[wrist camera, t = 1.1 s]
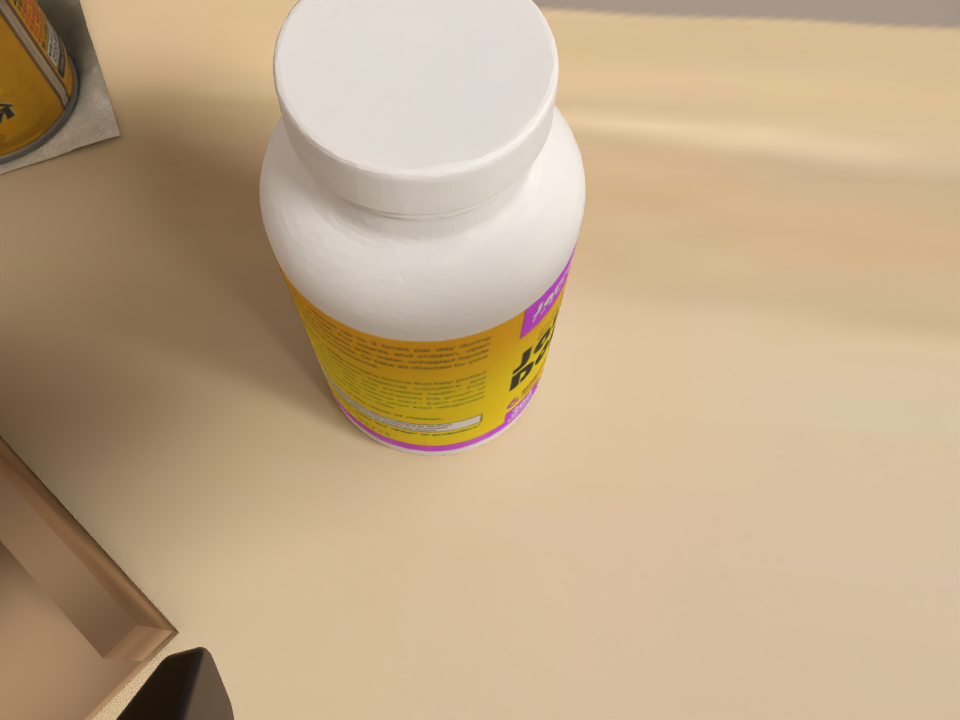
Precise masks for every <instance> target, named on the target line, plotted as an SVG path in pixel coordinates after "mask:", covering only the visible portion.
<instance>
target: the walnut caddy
mask: <svg viewBox="0 0 960 720" xmlns="http://www.w3.org/2000/svg"><path fill="white" fill-rule="evenodd" d="M178 633H179V632H178V631H177V630H176V629H175V628H174V627H173V626H172V624H171V623H170V622H169V621H168V620H167V619H166V618H165V617H164V616H163V615H162V613H161V612H160V611H159V610H158V609H157V608H156V607H155V606H154V605H153V604H152V602H151V601H150V600H149V599H148V598H147V597H146V596H145V595H144V594H143V593H142V592H141V590H140V589H139V588H138V587H137V586H136V585H135V584H134V583H133V582H132V581H131V579H130V578H129V577H128V576H127V575H126V574H125V573H124V572H123V571H122V570H121V568H120V567H119V566H118V565H117V564H116V563H115V562H114V561H113V560H112V559H111V557H110V556H109V555H108V554H107V553H106V552H105V551H104V550H103V549H102V548H101V546H100V545H99V544H98V543H97V542H96V541H95V540H94V539H93V538H92V537H91V535H90V534H89V533H88V532H87V531H86V530H85V529H84V528H83V527H82V526H81V524H80V523H79V522H78V521H77V520H76V519H75V518H74V517H73V516H72V515H71V513H70V512H69V511H68V510H67V509H66V508H65V507H64V506H63V505H62V504H61V502H60V501H59V500H58V499H57V498H56V497H55V496H54V495H53V494H52V493H51V492H50V490H49V489H48V488H47V487H46V486H45V485H44V484H43V483H42V482H41V481H40V479H39V478H38V477H37V476H36V475H35V474H34V473H33V472H32V471H31V470H30V468H29V467H28V466H27V465H26V464H25V463H24V462H23V461H22V460H21V459H20V457H19V456H18V455H17V454H16V453H15V452H14V451H13V450H12V449H11V448H10V446H9V445H8V444H7V443H6V442H5V441H4V440H3V439H2V438H1V437H0V720H91V719H92V718H93V717H94V716H95V715H96V714H97V713H98V712H99V711H100V710H101V709H102V708H103V707H104V706H105V705H106V704H107V703H108V702H109V701H110V700H111V699H112V698H113V697H114V696H115V695H116V694H117V693H118V692H119V691H120V690H121V689H122V688H123V687H124V686H125V685H126V684H127V683H128V682H129V681H130V680H131V679H132V678H133V677H134V676H135V675H136V674H137V673H138V672H140V671H141V670H142V669H143V668H144V667H145V666H146V665H147V664H148V663H149V662H150V661H151V660H152V659H153V658H154V657H155V656H156V655H157V654H158V653H159V652H160V651H161V650H162V649H163V648H164V647H165V646H166V645H167V644H168V643H169V642H170V641H171V640H172V639H173V638H174V637H175V636H176V635H177V634H178Z"/></svg>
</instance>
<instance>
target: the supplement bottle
mask: <svg viewBox="0 0 960 720" xmlns="http://www.w3.org/2000/svg"><path fill="white" fill-rule="evenodd" d="M558 70H559V64H558V54H557V49H556V45H555V39H554V37H553V34H552V32H551V30H550V28H549V25H548V23H547V21H546V19H545V17H544V16H543V14H542V13H541V11H540V10H539V8H538V7H537V6H536V5H535V3H534V2H533V1H532V0H299V1H298V2H297V3H296V5H295V6H294V7H293V9H292V10H291V11H290V13H289V14H288V16H287V18H286V20H285V22H284V24H283V26H282V28H281V30H280V32H279V35H278V37H277V40H276V46H275V52H274V58H273V75H274V83H275V89H276V93H277V97H278V100H279V104H280V108H281V113H282V117H281V119H280V120H279V122H278V123H277V125H276V127H275V129H274V131H273V133H272V135H271V138H270V140H269V143H268V146H267V148H266V152H265V155H264V159H263V163H262V169H261V176H260V208H261V214H262V219H263V224H264V228H265V231H266V234H267V237H268V240H269V242H270V245H271V248H272V250H273V252H274V255H275V257H276V260H277V262H278V264H279V267H280V269H281V271H282V274H283V276H284V278H285V281H286V283H287V285H288V288H289V290H290V293H291V295H292V297H293V300H294V302H295V305H296V307H297V309H298V312H299V314H300V317H301V319H302V321H303V324H304V326H305V329H306V331H307V334H308V336H309V339H310V341H311V344H312V346H313V349H314V351H315V353H316V356H317V358H318V361H319V364H320V366H321V368H322V371H323V373H324V376H325V378H326V380H327V383H328V385H329V387H330V390H331V391H332V393H333V395H334V397H335V399H336V401H337V403H338V404H339V406H340V407H341V409H342V410H343V412H344V413H345V415H346V416H347V417H348V418H349V419H350V421H351V422H352V423H353V424H354V425H355V426H357V427H358V428H359V429H360V430H361V431H363V432H364V433H365V434H366V435H368V436H369V437H371V438H373V439H374V440H376V441H377V442H379V443H381V444H383V445H385V446H387V447H390V448H392V449H395V450H397V451H401V452H405V453H409V454H415V455H423V456H444V455H451V454H456V453H461V452H465V451H468V450H472V449H475V448H477V447H479V446H482V445H484V444H486V443H488V442H489V441H491V440H493V439H495V438H496V437H498V436H499V435H501V434H502V433H503V432H505V431H506V430H507V429H508V428H509V427H510V426H512V425H513V424H514V423H515V422H516V421H517V419H518V418H519V417H520V416H521V415H522V413H523V412H524V411H525V409H526V408H527V407H528V405H529V403H530V402H531V400H532V398H533V396H534V394H535V392H536V389H537V387H538V384H539V381H540V378H541V375H542V372H543V368H544V364H545V361H546V357H547V353H548V350H549V346H550V342H551V338H552V336H553V332H554V328H555V323H556V319H557V316H558V312H559V309H560V305H561V301H562V297H563V292H564V289H565V285H566V281H567V277H568V273H569V269H570V265H571V261H572V257H573V253H574V250H575V246H576V243H577V239H578V235H579V232H580V228H581V223H582V219H583V213H584V206H585V175H584V168H583V163H582V158H581V154H580V151H579V148H578V146H577V143H576V141H575V138H574V136H573V133H572V131H571V129H570V127H569V125H568V124H567V122H566V120H565V118H564V117H563V115H562V114H561V113H560V111H559V110H558V108H557V107H556V106H555V97H556V90H557V83H558Z"/></svg>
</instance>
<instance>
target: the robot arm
mask: <svg viewBox="0 0 960 720" xmlns="http://www.w3.org/2000/svg"><path fill="white" fill-rule="evenodd" d="M116 720H234V716H233V710H232V706H231V702H230V699H229V697H228V694H227V692H226V689H225V687H224V684H223V682H222V680H221V677H220V675H219V672H218V670H217V667H216V665H215V662H214V660H213V657H212V655H211V654H210V652H209V651H208V650H207V649H206V648H203V647H197V648H194V649H190V650H186V651H183V652H179V653H175V654H172V655H169V656H167V657H166V658H165V659H164V660H163V661H162V662H161V663H160V664H159V665H158V667H157V668H156V669H155V670H154V672H153V673H152V674H151V676H150V677H149V678H148V679H147V681H146V682H145V683H144V685H143V686H142V687H141V688H140V690H139V691H138V692H137V694H136V695H135V696H134V697H133V699H132V700H131V701H130V703H129V704H128V705H127V706H126V708H125V709H124V710H123V711H122V713H121V714H120V715H119V717H118V718H117V719H116Z"/></svg>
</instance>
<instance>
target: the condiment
mask: <svg viewBox="0 0 960 720" xmlns="http://www.w3.org/2000/svg"><path fill="white" fill-rule="evenodd" d="M116 136H120V132H119V129H118V126H117V122H116V119H115V115H114V112H113V109H112V105H111V102H110V98H109V95H108V92H107V89H106V86H105V82H104V78H103V75H102V72H101V69H100V66H99V63H98V59H97V56H96V53H95V50H94V47H93V43H92V40H91V37H90V35H89V32H88V29H87V26H86V21H85V18H84V15H83V11H82V8H81V5H80V1H79V0H0V174H3V173H6V172H9V171H12V170H15V169H17V168H20V167H24V166H28V165H31V164H33V163H36V162H40V161H44V160H47V159H49V158H53V157H56V156H59V155H61V154H63V153H66V152H70V151H72V150H73V149H74V148H78V147H83V146H86V145H89V144H92V143H95V142H98V141H102V140H105V139H108V138H112V137H116Z"/></svg>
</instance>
